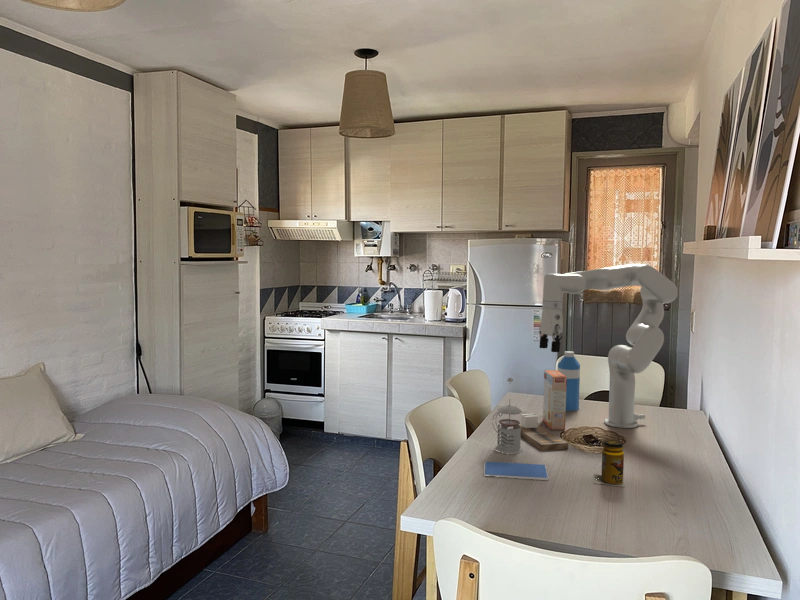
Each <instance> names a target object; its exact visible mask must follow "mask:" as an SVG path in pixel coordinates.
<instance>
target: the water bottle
mask: <svg viewBox="0 0 800 600" xmlns="http://www.w3.org/2000/svg"><path fill="white" fill-rule="evenodd" d="M563 355H564V356H563V357H562V358H561V359H560V361H559V362H558V363H557V371H559V372H560V373H562V374H563V375H565V376H566V377H567V387H566V411H569V412H570V411H571V412H573V411H577V410H579V409H580V382H581V381H580V380H581V379H580V377H581V375H580V374H581V364H580V363H579V361H578V360H577V358H576V357H575V352H574V351H572V350H571V351H569V350H568V351H567V350H565V351H564V354H563Z"/></svg>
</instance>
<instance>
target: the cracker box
mask: <svg viewBox="0 0 800 600" xmlns="http://www.w3.org/2000/svg"><path fill="white" fill-rule="evenodd" d="M566 387H567V377H566V376H565V375H563V374H562V373H560V372H559V371H558V369H556V370H555V369H549V370H548V369H546V370H544V373H543V401H542V402H543V405H542V421H543V422H544V424H546V426H547V427H548V428H549V429H550V430H557V431H558V430H559V431H562V430H563V431H565V430H566V414H567V413H566V411H567V410H566Z"/></svg>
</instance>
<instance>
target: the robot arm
mask: <svg viewBox="0 0 800 600" xmlns="http://www.w3.org/2000/svg"><path fill="white" fill-rule="evenodd" d="M635 286H636V287H637V286H638V287H640V289H639V290H640V292H639V293H640V296H641V301H642V307H641V311H640V312H639V314H638V316H637V317H636V319H635V320H634V321H633V323H632V324H631V325H630V327H629V328H628V330H627V331H626V334H625V340H626V341H627V343H628V344H629V345H631V346H629V345H626V344H625V345H624V344H617V345H614V346H612V347H611V349H610V350H609V351H608V354H607V363H608V368H609V389H608V391H609V394H608V417H606V418H604V421H603V422H604V424H605V425H606V426H610V427H613V428H620V429H632V428H633V429H634V428H637V427H638V426H639V422H638V420H645V419H646V415H645V414H643V413H641V414H638V413H636V412H635V397H636V395H635V394H636V392H635V391H636V377H635V374H640V373H643V372H644V371H645V370H646V369H648V368H649V366H650V364H651V363H652V361H653V360H654V359H655V357H656V356H657V355H658V353H659V352H660V351H661V349H662V347H663V345H664V343H665V335H664V332H663V330H662V329H661V328H660V327H659V326H660V325H661V323H662V321H663V319H664V317H665V316H664V315H665V309H664V304H670V303H672V302H674V301H675V300H676V299H677V298H678V295H679V294H678V287H677V285H676V284H675V283H674V282H673V281H671V280H670V279H669V278H668V277H666V275H664V274H662V273H661V272H660V271H659V270H657V269H656V268H655V267H653V266H651V265H649V264H645V263H643V264H642V263H631V264H623V265H622V264H621V265H616V266H611V267H608V266H607V267H601V268H596V269H595V268H594V269H589V270H581V271H574V272H566V273H562V274H561V273H545V275H544V277H543V290H542V301H541V302H542V303H541V309H542V310H541V317H540V318H541V319H540V325H539V326H538V328H539V329H538V330H539V331H538V332H539V349H548V346H549V336H550V337H551V338H552V339H551V340H552V341H551V346H550V348H551V349H550V351H551V352H552V353H560V351H561V349H560V348H561V342H562V339H563V334H564V315H563V303H564V301H563V300H564V294H565V293H566V294H570V295H571V294H572V295H577V294H581V293H583V292H584V291H585V290H597V291H605V290H607V291H608V290H614V289H621V288H626V287H627V288H629V287H635Z"/></svg>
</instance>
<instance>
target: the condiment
mask: <svg viewBox="0 0 800 600" xmlns="http://www.w3.org/2000/svg"><path fill="white" fill-rule="evenodd" d="M623 446H624V444H623V442H622V441H621V440H617V439H606V440H604V441H603V449H602V451H601V474H597V473H594V474H593V484H598V485H607V486H611V487H612V486H613V487H614V486H615V487H619V488H620V487H621V488H623V487H626V484H625V478H624V464H625V463H624V462H625V458H624V457H625V453H624V451H623V450H624V448H623ZM594 478H595V479H594ZM598 478H599V479H598ZM596 479H597V480H596ZM602 482H603V483H602Z"/></svg>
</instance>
